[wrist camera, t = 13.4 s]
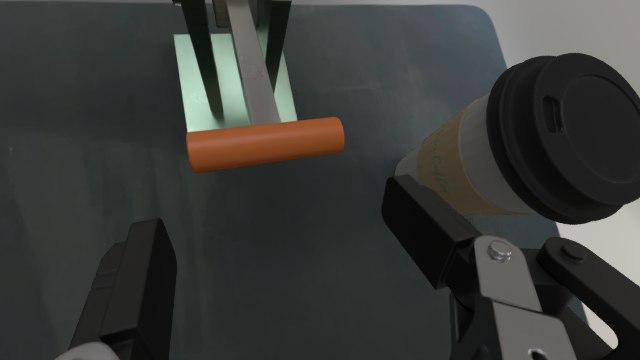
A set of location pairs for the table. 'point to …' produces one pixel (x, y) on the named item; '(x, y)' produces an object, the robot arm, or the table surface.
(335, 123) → the lever
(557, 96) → the coffee cup
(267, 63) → the bracket
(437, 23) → the table surface
